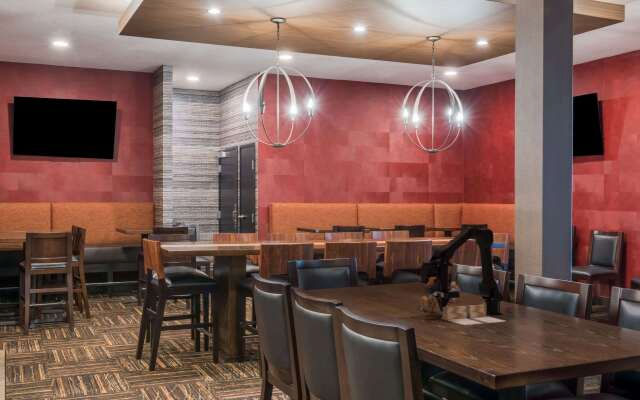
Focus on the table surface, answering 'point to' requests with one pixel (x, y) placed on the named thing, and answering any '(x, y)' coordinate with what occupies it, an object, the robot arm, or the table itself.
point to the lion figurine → (428, 303)
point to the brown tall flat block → (456, 312)
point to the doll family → (449, 287)
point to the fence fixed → (477, 310)
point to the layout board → (475, 320)
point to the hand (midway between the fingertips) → (442, 311)
